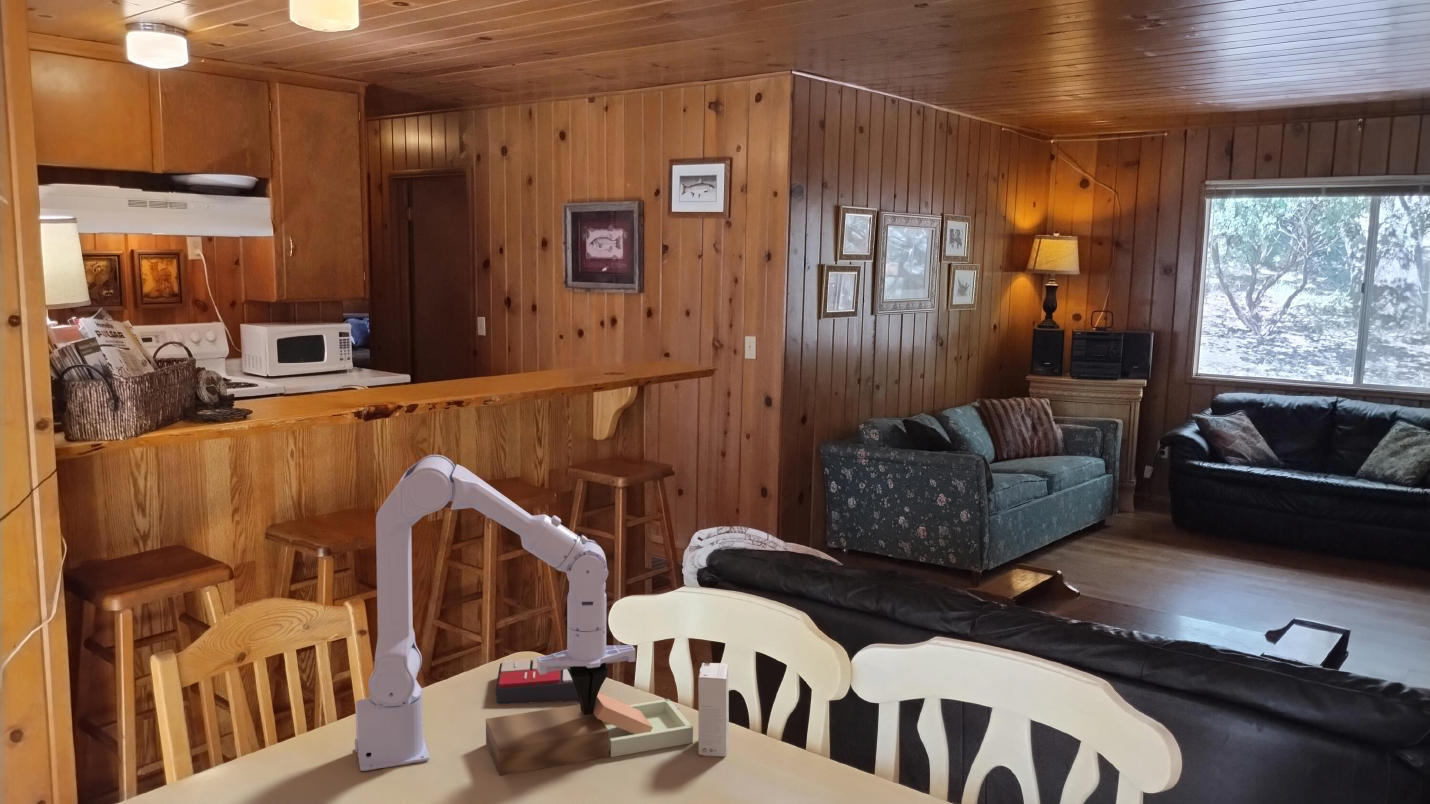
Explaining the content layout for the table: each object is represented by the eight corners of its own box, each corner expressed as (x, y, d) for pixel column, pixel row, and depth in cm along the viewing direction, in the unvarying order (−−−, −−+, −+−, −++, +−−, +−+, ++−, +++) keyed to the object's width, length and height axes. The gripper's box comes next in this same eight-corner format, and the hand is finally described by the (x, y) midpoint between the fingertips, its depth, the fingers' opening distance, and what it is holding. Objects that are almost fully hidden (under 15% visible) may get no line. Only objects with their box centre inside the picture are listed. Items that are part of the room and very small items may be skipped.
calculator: (499, 658, 181) (587, 651, 183) (501, 681, 181) (588, 674, 183) (494, 684, 170) (588, 677, 172) (496, 709, 171) (589, 701, 173)
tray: (611, 756, 154) (611, 740, 153) (591, 725, 163) (591, 710, 163) (692, 742, 159) (693, 727, 158) (668, 713, 168) (668, 698, 168)
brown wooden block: (499, 775, 148) (498, 748, 147) (486, 744, 157) (485, 718, 156) (608, 756, 154) (608, 730, 153) (589, 727, 163) (589, 702, 162)
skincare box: (727, 757, 154) (728, 679, 152) (696, 755, 155) (697, 677, 153) (729, 737, 160) (730, 662, 159) (700, 736, 161) (701, 661, 159)
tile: (596, 718, 155) (603, 706, 155) (585, 701, 160) (592, 689, 160) (646, 739, 158) (653, 727, 158) (634, 722, 164) (640, 710, 164)
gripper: (544, 640, 148) (545, 731, 151) (642, 627, 154) (641, 715, 156) (533, 623, 155) (534, 710, 157) (627, 612, 160) (626, 696, 162)
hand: (586, 711), depth 157 cm, fingers closed
